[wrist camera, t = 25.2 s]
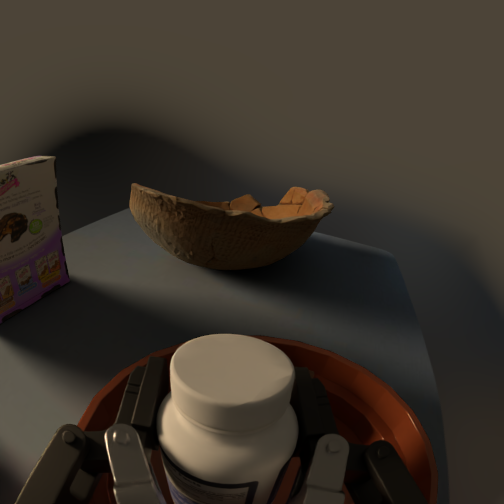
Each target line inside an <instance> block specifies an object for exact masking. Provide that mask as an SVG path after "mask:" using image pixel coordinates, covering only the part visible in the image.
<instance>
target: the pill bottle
mask: <svg viewBox="0 0 504 504" xmlns="http://www.w3.org/2000/svg"><path fill="white" fill-rule="evenodd" d="M294 378H295V371H294V367H293V364H292V362H291V360H290V359H289V357H288V356H287V355H286V354H285V353H284V352H283V351H281V350H280V349H279V348H277V347H275V346H274V345H272V344H270V343H268V342H265V341H263V340H260V339H257V338H253V337H249V336H244V335H236V334H213V335H207V336H202V337H198V338H195V339H193V340H190V341H188V342H186V343H185V344H183V345H182V346H180V347H179V348H178V349H177V350H176V352H175V353H174V355H173V356H172V359H171V363H170V381H171V391H170V392H169V393H168V394H167V396H166V397H165V398H164V399H163V401H162V403H161V405H160V407H159V409H158V413H157V417H156V429H157V436H158V441H159V446H160V451H161V456H162V460H163V465H164V469H165V473H166V477H167V481H168V485H169V489H170V493H171V496H172V499H173V502H174V504H272V503H273V501H274V499H275V497H276V494H277V492H278V490H279V487H280V485H281V483H282V480H283V478H284V475H285V473H286V471H287V468H288V466H289V463H290V461H291V458H292V456H293V453H294V450H295V448H296V444H297V440H298V435H299V425H298V420H297V416H296V413H295V411H294V409H293V407H292V406H291V405H290V403H289V402H290V398H291V392H292V388H293V383H294Z"/></svg>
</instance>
